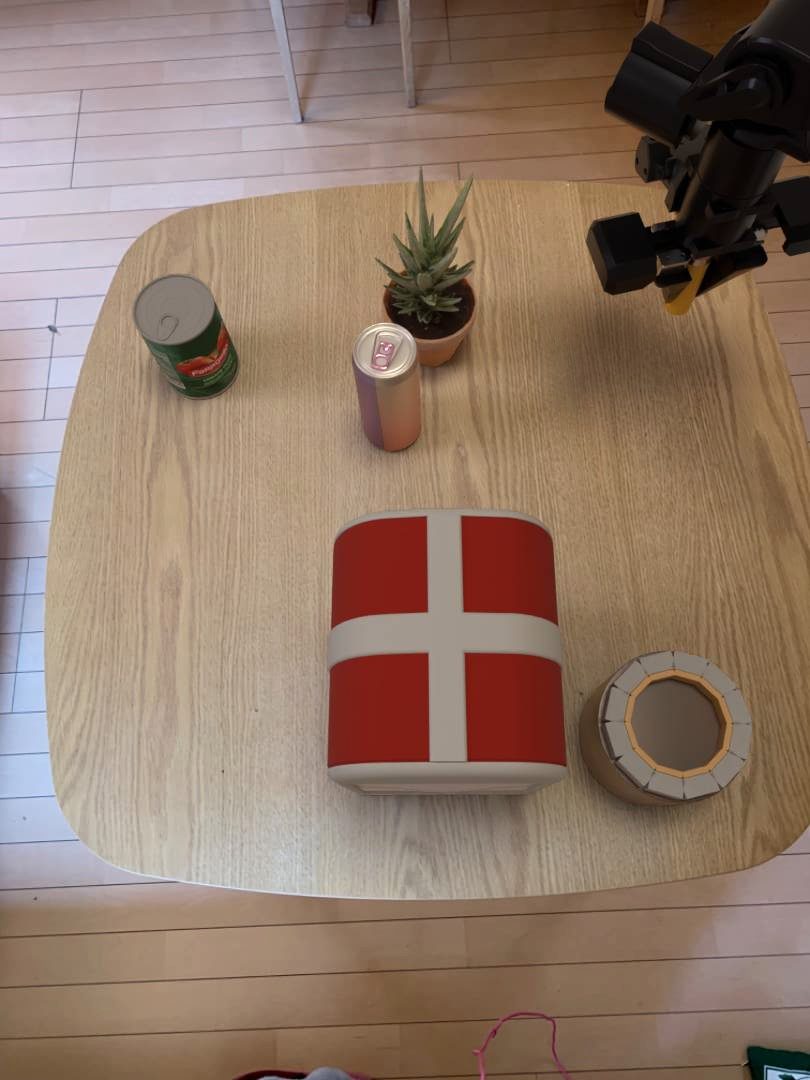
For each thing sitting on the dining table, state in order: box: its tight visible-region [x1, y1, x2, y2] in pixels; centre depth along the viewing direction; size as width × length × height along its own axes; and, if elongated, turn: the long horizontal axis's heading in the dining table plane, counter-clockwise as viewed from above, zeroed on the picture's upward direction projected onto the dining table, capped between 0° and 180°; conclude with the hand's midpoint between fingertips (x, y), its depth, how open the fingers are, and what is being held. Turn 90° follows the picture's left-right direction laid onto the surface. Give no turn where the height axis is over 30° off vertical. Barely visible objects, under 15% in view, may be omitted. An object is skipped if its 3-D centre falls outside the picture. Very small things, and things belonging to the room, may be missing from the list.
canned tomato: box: [131, 272, 240, 400], centre depth 86 cm, size 8×8×11 cm
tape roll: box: [601, 650, 754, 800], centre depth 67 cm, size 11×11×2 cm
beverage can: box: [351, 322, 422, 451], centre depth 81 cm, size 6×6×15 cm
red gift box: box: [326, 507, 568, 796], centre depth 66 cm, size 16×18×27 cm
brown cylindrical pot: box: [578, 650, 750, 807], centre depth 72 cm, size 12×12×10 cm
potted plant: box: [373, 164, 478, 367], centre depth 79 cm, size 10×10×25 cm
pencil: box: [663, 255, 712, 316], centre depth 74 cm, size 2×2×8 cm
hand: (680, 295), depth 77 cm, fingers closed on pencil, 2 cm apart
